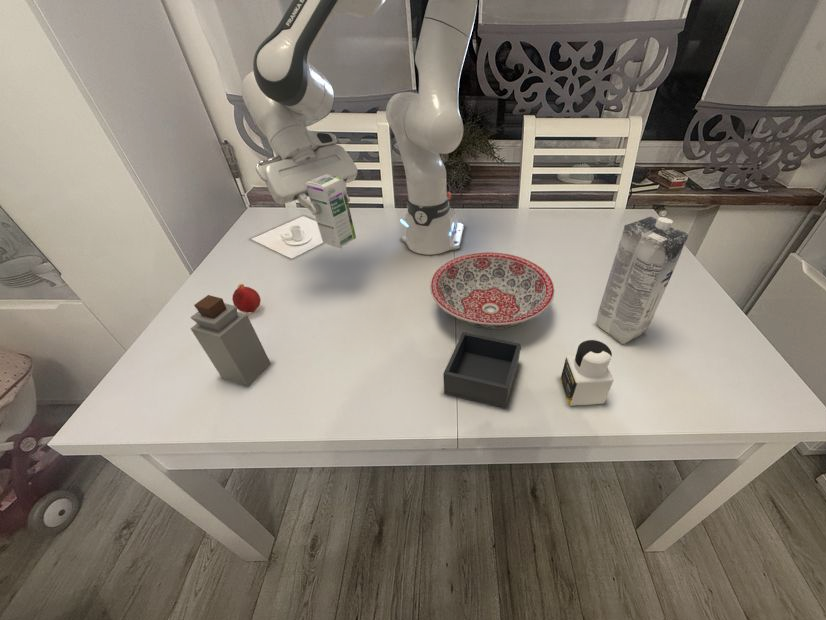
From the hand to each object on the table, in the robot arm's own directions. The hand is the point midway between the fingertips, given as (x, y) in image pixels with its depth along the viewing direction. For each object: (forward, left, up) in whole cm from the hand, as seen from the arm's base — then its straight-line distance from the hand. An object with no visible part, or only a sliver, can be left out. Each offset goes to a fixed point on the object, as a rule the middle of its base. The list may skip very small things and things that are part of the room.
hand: (332, 207), depth 88 cm
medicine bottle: (+18, +61, -22) cm, 68 cm away
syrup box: (0, -1, -9) cm, 9 cm away
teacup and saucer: (-21, -31, -22) cm, 44 cm away
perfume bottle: (+33, -7, -22) cm, 40 cm away
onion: (+16, -19, -22) cm, 33 cm away
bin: (+20, +41, -22) cm, 51 cm away
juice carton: (-4, +68, -22) cm, 72 cm away
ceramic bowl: (-2, +37, -22) cm, 44 cm away
